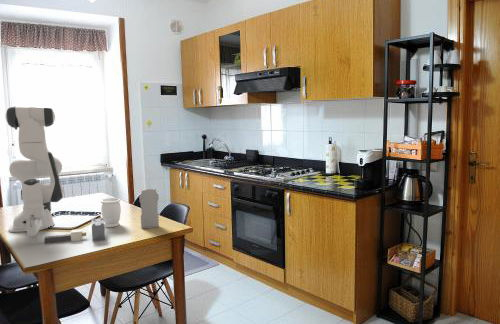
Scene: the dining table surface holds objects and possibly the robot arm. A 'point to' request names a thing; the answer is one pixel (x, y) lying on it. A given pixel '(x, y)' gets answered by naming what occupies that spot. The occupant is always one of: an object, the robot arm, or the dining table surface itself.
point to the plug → (66, 237)
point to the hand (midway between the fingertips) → (35, 240)
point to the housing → (98, 229)
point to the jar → (111, 211)
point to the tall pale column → (149, 208)
